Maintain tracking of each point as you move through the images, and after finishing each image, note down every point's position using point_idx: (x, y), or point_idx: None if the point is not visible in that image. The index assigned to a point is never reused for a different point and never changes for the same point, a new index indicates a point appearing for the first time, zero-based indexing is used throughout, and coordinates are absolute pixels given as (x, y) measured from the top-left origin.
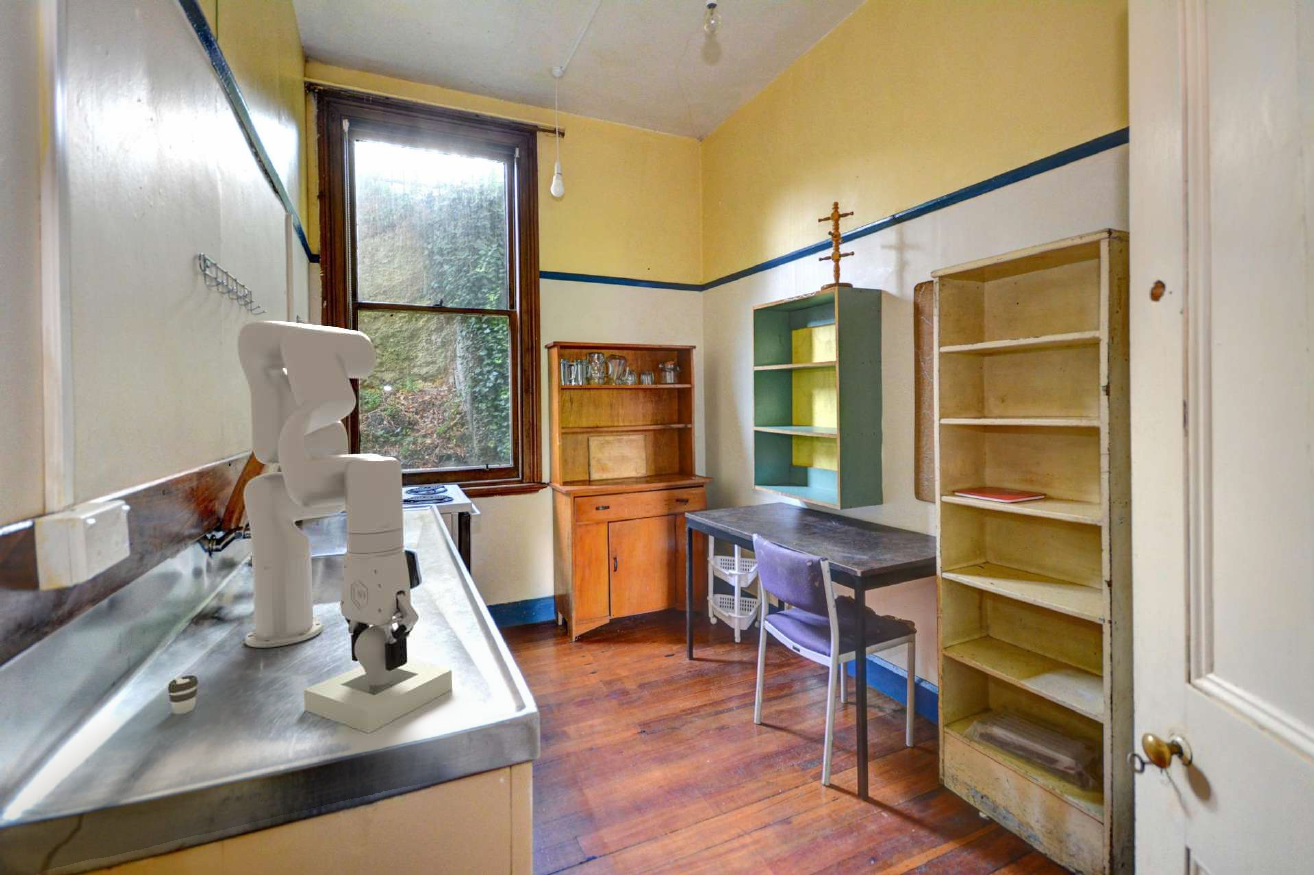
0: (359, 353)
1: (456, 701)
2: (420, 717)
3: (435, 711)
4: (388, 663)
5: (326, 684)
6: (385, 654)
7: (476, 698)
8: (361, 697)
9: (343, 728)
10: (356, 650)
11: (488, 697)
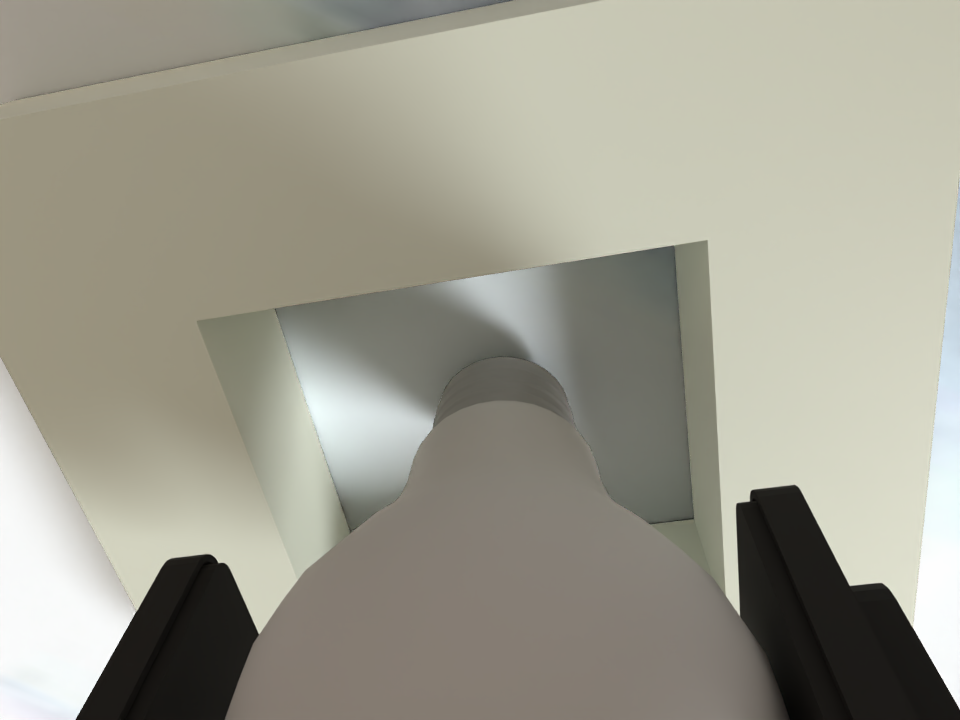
0: None
1: (97, 612)
2: (29, 415)
3: (50, 498)
4: (142, 616)
5: (847, 154)
6: (130, 694)
7: (58, 675)
8: (233, 234)
9: (240, 9)
10: (522, 575)
11: (27, 705)
